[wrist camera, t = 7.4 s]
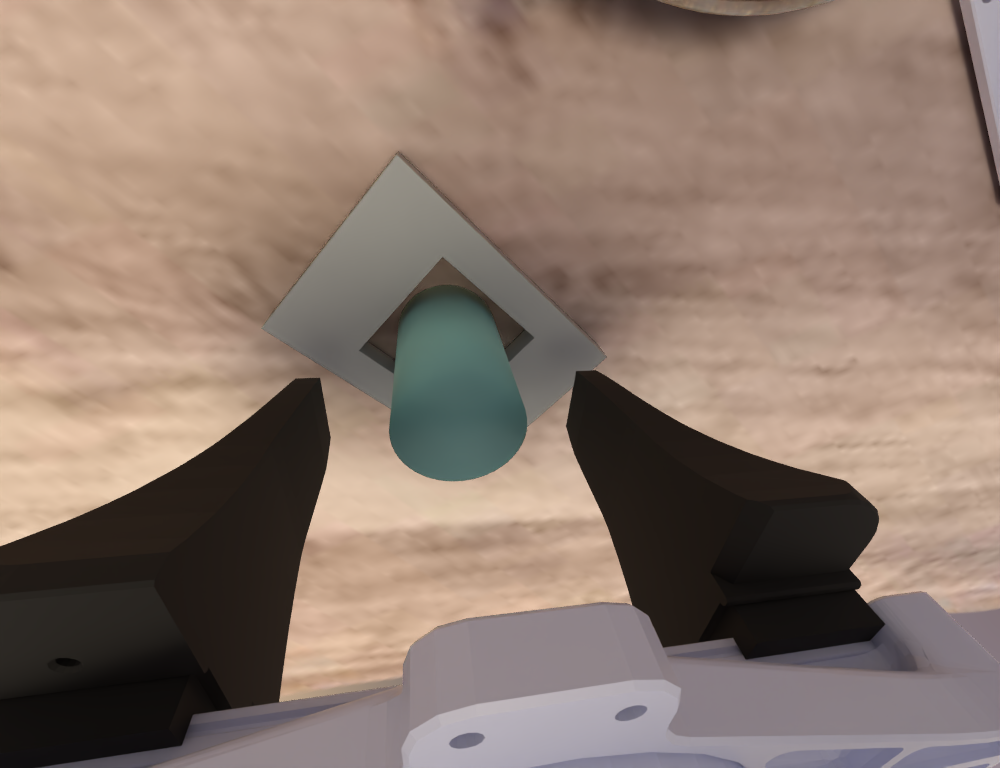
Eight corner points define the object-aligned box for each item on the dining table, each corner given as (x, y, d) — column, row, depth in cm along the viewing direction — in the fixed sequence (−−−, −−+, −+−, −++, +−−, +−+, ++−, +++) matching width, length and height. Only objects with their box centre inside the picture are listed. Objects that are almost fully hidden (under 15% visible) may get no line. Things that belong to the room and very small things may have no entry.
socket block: (598, 345, 18) (606, 357, 17) (479, 450, 20) (482, 465, 19) (398, 151, 13) (396, 154, 12) (269, 315, 15) (261, 328, 14)
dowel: (514, 326, 17) (554, 421, 12) (451, 388, 18) (464, 499, 13) (442, 264, 15) (454, 344, 10) (377, 336, 16) (359, 440, 11)
